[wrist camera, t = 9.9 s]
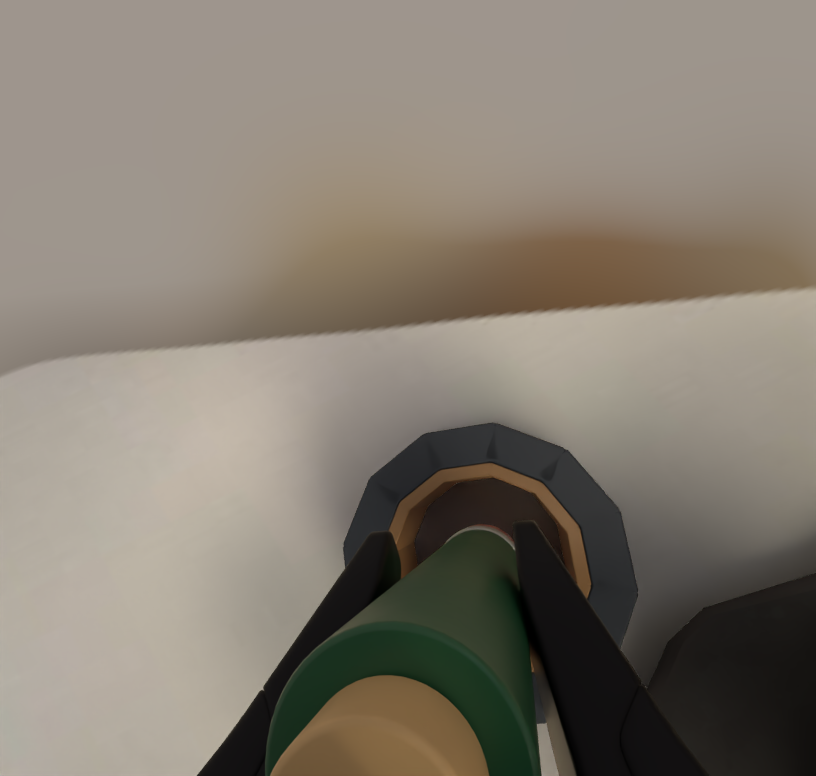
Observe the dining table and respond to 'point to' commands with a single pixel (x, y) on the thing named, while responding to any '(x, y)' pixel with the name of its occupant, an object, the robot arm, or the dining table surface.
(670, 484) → the dining table surface
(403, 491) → the tape roll
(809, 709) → the casserole
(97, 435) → the dining table surface
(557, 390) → the dining table surface
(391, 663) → the pencil
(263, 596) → the dining table surface
